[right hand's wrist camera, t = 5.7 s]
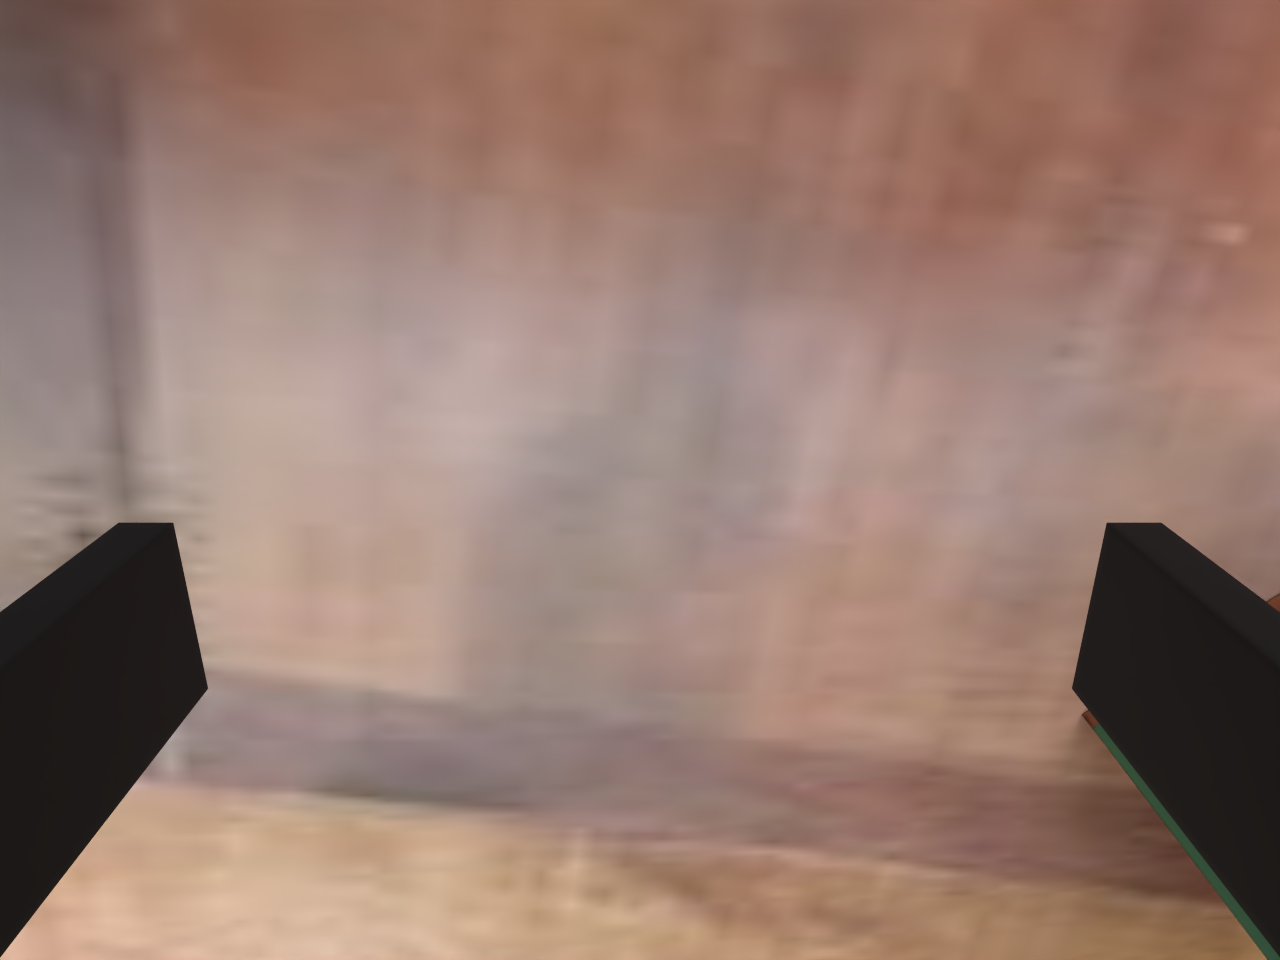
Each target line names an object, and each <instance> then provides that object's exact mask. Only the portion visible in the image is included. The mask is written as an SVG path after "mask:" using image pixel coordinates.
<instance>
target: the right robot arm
mask: <svg viewBox="0 0 1280 960" xmlns="http://www.w3.org/2000/svg"><path fill="white" fill-rule="evenodd" d="M207 689H208V686H207V681H206V677H205V672H204V667H203V662H202V658H201V653H200V648H199V643H198V639H197V634H196V629H195V624H194V620H193V615H192V610H191V605H190V600H189V596H188V591H187V586H186V581H185V577H184V572H183V567H182V562H181V558H180V553H179V548H178V543H177V539H176V534H175V529H174V524H173V523H118V524H116V525H115V526H114V527H113V528H111V529H110V530H109V531H107V532H106V533H105V534H103V535H102V536H101V537H99V538H98V539H97V540H95V541H94V542H93V543H91V544H90V545H89V546H87V547H86V548H85V549H83V550H82V551H81V552H79V553H78V554H77V555H75V556H74V557H73V558H71V559H70V560H69V561H67V562H66V563H65V564H63V565H62V566H61V567H59V568H58V569H57V570H56V571H54V572H53V573H52V574H50V575H49V576H48V577H46V578H45V579H44V580H42V581H41V582H40V583H38V584H37V585H36V586H34V587H33V588H32V589H30V590H29V591H28V592H26V593H25V594H24V595H22V596H21V597H20V598H18V599H17V600H16V601H14V602H13V603H12V604H10V605H9V606H8V607H6V608H5V609H4V610H3V611H1V612H0V957H1V956H2V954H3V953H4V952H5V951H6V949H7V948H8V947H9V945H10V944H11V943H12V942H13V940H14V939H15V938H16V936H17V935H18V934H19V932H20V931H21V930H22V929H23V927H24V926H25V925H26V923H27V922H28V921H29V920H30V918H31V917H32V916H33V914H34V913H35V912H36V910H37V909H38V908H39V907H40V905H41V904H42V903H43V901H44V900H45V899H46V898H47V896H48V895H49V894H50V892H51V891H52V890H53V888H54V887H55V886H56V885H57V883H58V882H59V881H60V879H61V878H62V877H63V876H64V874H65V873H66V872H67V870H68V869H69V868H70V866H71V865H72V864H73V863H74V861H75V860H76V859H77V857H78V856H79V855H80V854H81V852H82V851H83V850H84V848H85V847H86V846H87V844H88V843H89V842H90V841H91V839H92V838H93V837H94V835H95V834H96V833H97V832H98V830H99V829H100V828H101V826H102V825H103V824H104V822H105V821H106V820H107V819H108V817H109V816H110V815H111V813H112V812H113V811H114V810H115V808H116V807H117V806H118V804H119V803H120V802H121V800H122V799H123V798H124V797H125V795H126V794H127V793H128V791H129V790H130V789H131V788H132V786H133V785H134V784H135V782H136V781H137V780H138V778H139V777H140V776H141V775H142V773H143V772H144V771H145V769H146V768H147V767H148V766H149V764H150V763H151V762H152V760H153V759H154V758H155V756H156V755H157V754H158V753H159V751H160V750H161V749H162V747H163V746H164V745H165V744H166V742H167V741H168V740H169V738H170V737H171V736H172V734H173V733H174V732H175V731H176V729H177V728H178V727H179V725H180V724H181V723H182V722H183V720H184V719H185V718H186V716H187V715H188V714H189V712H190V711H191V710H192V709H193V707H194V706H195V705H196V703H197V702H198V701H199V700H200V698H201V697H202V696H203V694H204V693H205V692H206V690H207ZM1072 689H1073V690H1074V692H1075V693H1076V694H1077V696H1078V697H1079V698H1080V700H1081V701H1082V702H1083V703H1084V705H1085V706H1086V707H1087V709H1088V710H1089V711H1090V712H1091V714H1092V715H1093V716H1094V718H1095V719H1096V720H1097V722H1098V723H1099V724H1100V725H1101V727H1102V728H1103V729H1104V731H1105V732H1106V733H1107V734H1108V736H1109V737H1110V738H1111V740H1112V741H1113V742H1114V744H1115V745H1116V746H1117V747H1118V749H1119V750H1120V751H1121V753H1122V754H1123V755H1124V756H1125V758H1126V759H1127V760H1128V762H1129V763H1130V764H1131V766H1132V767H1133V768H1134V769H1135V771H1136V772H1137V773H1138V775H1139V776H1140V777H1141V778H1142V780H1143V781H1144V782H1145V784H1146V785H1147V786H1148V788H1149V789H1150V790H1151V791H1152V793H1153V794H1154V795H1155V797H1156V798H1157V799H1158V800H1159V802H1160V803H1161V804H1162V806H1163V807H1164V808H1165V810H1166V811H1167V812H1168V813H1169V815H1170V816H1171V817H1172V819H1173V820H1174V821H1175V822H1176V824H1177V825H1178V826H1179V828H1180V829H1181V830H1182V832H1183V833H1184V834H1185V835H1186V837H1187V838H1188V839H1189V841H1190V842H1191V843H1192V844H1193V846H1194V847H1195V848H1196V850H1197V851H1198V852H1199V854H1200V855H1201V856H1202V857H1203V859H1204V860H1205V861H1206V863H1207V864H1208V865H1209V866H1210V868H1211V869H1212V870H1213V872H1214V873H1215V874H1216V876H1217V877H1218V878H1219V879H1220V881H1221V882H1222V883H1223V885H1224V886H1225V887H1226V888H1227V890H1228V891H1229V892H1230V894H1231V895H1232V896H1233V898H1234V899H1235V900H1236V901H1237V903H1238V904H1239V905H1240V907H1241V908H1242V909H1243V910H1244V912H1245V913H1246V914H1247V916H1248V917H1249V918H1250V920H1251V921H1252V922H1253V923H1254V925H1255V926H1256V927H1257V929H1258V930H1259V931H1260V932H1261V934H1262V935H1263V936H1264V938H1265V939H1266V940H1267V942H1268V943H1269V944H1270V945H1271V947H1272V948H1273V949H1274V951H1275V952H1276V953H1277V954H1278V956H1279V957H1280V612H1279V611H1277V610H1276V609H1275V608H1274V607H1272V606H1271V605H1270V604H1268V603H1267V602H1266V601H1264V600H1263V599H1262V598H1260V597H1259V596H1258V595H1256V594H1255V593H1254V592H1252V591H1251V590H1250V589H1248V588H1247V587H1246V586H1244V585H1243V584H1242V583H1240V582H1239V581H1238V580H1236V579H1235V578H1234V577H1232V576H1231V575H1230V574H1228V573H1227V572H1226V571H1224V570H1223V569H1222V568H1221V567H1219V566H1218V565H1217V564H1215V563H1214V562H1213V561H1211V560H1210V559H1209V558H1207V557H1206V556H1205V555H1203V554H1202V553H1201V552H1199V551H1198V550H1197V549H1195V548H1194V547H1193V546H1191V545H1190V544H1189V543H1187V542H1186V541H1185V540H1183V539H1182V538H1181V537H1179V536H1178V535H1177V534H1175V533H1174V532H1173V531H1171V530H1170V529H1169V528H1167V527H1166V526H1165V525H1164V524H1162V523H1107V524H1106V529H1105V534H1104V539H1103V543H1102V548H1101V553H1100V558H1099V562H1098V567H1097V572H1096V577H1095V581H1094V586H1093V591H1092V596H1091V600H1090V605H1089V610H1088V615H1087V620H1086V624H1085V629H1084V634H1083V639H1082V643H1081V648H1080V653H1079V658H1078V662H1077V667H1076V672H1075V677H1074V681H1073V686H1072Z"/></svg>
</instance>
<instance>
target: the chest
mask: <svg viewBox="0 0 1280 960" xmlns="http://www.w3.org/2000/svg"><path fill="white" fill-rule="evenodd" d="M1267 603H1268V604H1270V605H1271V606H1272V607H1274V608H1275V609H1276V610H1277V611H1279V612H1280V595H1278V596H1276V597H1275V598H1273V599H1271V600H1270V601H1268V602H1267ZM1082 715H1083V717H1084V718H1085V719H1086V721H1087V722H1088V723H1089V725H1090V726H1091V727H1092V729H1093V730H1094V731H1095V732H1096V734H1097V735H1098V736H1099V737H1100V739H1101V740H1102V741H1103V743H1104V744H1105V745H1106V747H1107V748H1108V749H1109V751H1110V752H1111V753H1112V755H1113V756H1114V757H1115V759H1116V760H1117V761H1118V763H1119V764H1120V765H1121V766H1122V768H1123V769H1124V770H1125V772H1126V773H1127V774H1128V776H1129V777H1130V778H1131V780H1132V781H1133V782H1134V784H1135V785H1136V786H1137V788H1138V789H1139V790H1140V792H1141V793H1142V794H1143V796H1144V797H1145V798H1146V800H1147V801H1148V802H1149V804H1150V805H1151V806H1152V807H1153V809H1154V810H1155V811H1156V813H1157V814H1158V815H1159V817H1160V818H1161V819H1162V821H1163V822H1164V823H1165V825H1166V826H1167V827H1168V829H1169V830H1170V831H1171V833H1172V834H1173V835H1174V837H1175V838H1176V839H1177V841H1178V842H1179V843H1180V845H1181V846H1182V847H1183V848H1184V850H1185V851H1186V852H1187V854H1188V855H1189V856H1190V858H1191V859H1192V860H1193V862H1194V863H1195V864H1196V866H1197V867H1198V868H1199V870H1200V871H1201V872H1202V874H1203V875H1204V876H1205V878H1206V879H1207V880H1208V882H1209V883H1210V884H1211V886H1212V887H1213V888H1214V889H1215V891H1216V892H1217V893H1218V895H1219V896H1220V897H1221V899H1222V900H1223V901H1224V903H1225V904H1226V905H1227V907H1228V908H1229V909H1230V911H1231V912H1232V913H1233V915H1234V916H1235V917H1236V919H1237V920H1238V921H1239V923H1240V924H1241V925H1242V927H1243V928H1244V929H1245V930H1246V932H1247V933H1248V934H1249V936H1250V937H1251V938H1252V940H1253V941H1254V942H1255V944H1256V945H1257V946H1258V948H1259V949H1260V950H1261V952H1262V953H1263V954H1264V956H1265V957H1266V958H1267V960H1280V957H1279V956H1278V954H1277V953H1276V952H1275V951H1274V949H1273V948H1272V947H1271V945H1270V944H1269V943H1268V942H1267V940H1266V939H1265V938H1264V936H1263V935H1262V934H1261V932H1260V931H1259V930H1258V929H1257V927H1256V926H1255V925H1254V923H1253V922H1252V921H1251V920H1250V918H1249V917H1248V916H1247V914H1246V913H1245V912H1244V910H1243V909H1242V908H1241V907H1240V905H1239V904H1238V903H1237V901H1236V900H1235V899H1234V898H1233V896H1232V895H1231V894H1230V892H1229V891H1228V890H1227V888H1226V887H1225V886H1224V885H1223V883H1222V882H1221V881H1220V879H1219V878H1218V877H1217V876H1216V874H1215V873H1214V872H1213V870H1212V869H1211V868H1210V866H1209V865H1208V864H1207V863H1206V861H1205V860H1204V859H1203V857H1202V856H1201V855H1200V854H1199V852H1198V851H1197V850H1196V848H1195V847H1194V846H1193V844H1192V843H1191V842H1190V841H1189V839H1188V838H1187V837H1186V835H1185V834H1184V833H1183V832H1182V830H1181V829H1180V828H1179V826H1178V825H1177V824H1176V822H1175V821H1174V820H1173V819H1172V817H1171V816H1170V815H1169V813H1168V812H1167V811H1166V810H1165V808H1164V807H1163V806H1162V804H1161V803H1160V802H1159V800H1158V799H1157V798H1156V797H1155V795H1154V794H1153V793H1152V791H1151V790H1150V789H1149V788H1148V786H1147V785H1146V784H1145V782H1144V781H1143V780H1142V778H1141V777H1140V776H1139V775H1138V773H1137V772H1136V771H1135V769H1134V768H1133V767H1132V766H1131V764H1130V763H1129V762H1128V760H1127V759H1126V758H1125V756H1124V755H1123V754H1122V753H1121V751H1120V750H1119V749H1118V747H1117V746H1116V745H1115V744H1114V742H1113V741H1112V740H1111V738H1110V737H1109V736H1108V734H1107V733H1106V732H1105V731H1104V729H1103V728H1102V727H1101V725H1100V724H1099V723H1098V722H1097V720H1096V719H1095V718H1094V716H1093V715H1092V714H1091V712H1090V711H1087V712H1086V713H1084V714H1082Z"/></svg>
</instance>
